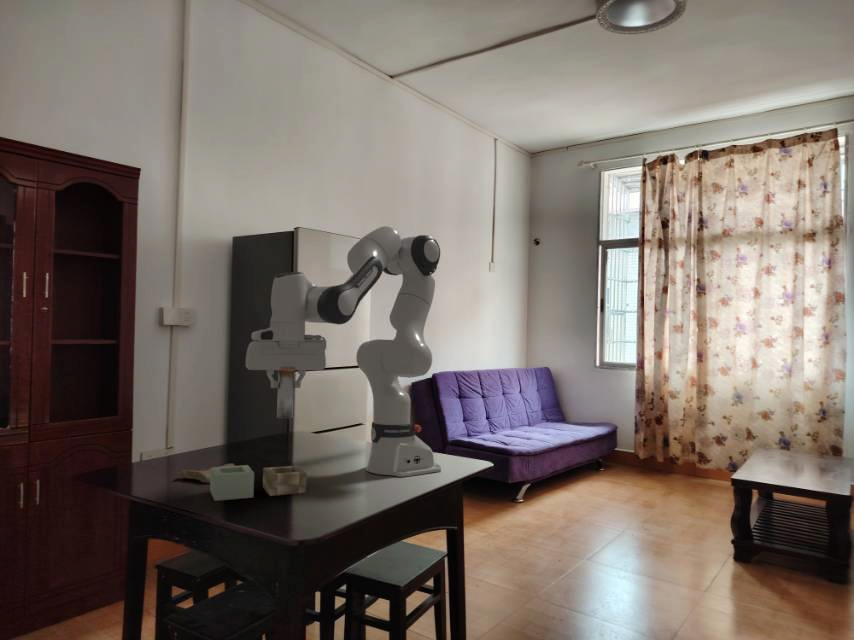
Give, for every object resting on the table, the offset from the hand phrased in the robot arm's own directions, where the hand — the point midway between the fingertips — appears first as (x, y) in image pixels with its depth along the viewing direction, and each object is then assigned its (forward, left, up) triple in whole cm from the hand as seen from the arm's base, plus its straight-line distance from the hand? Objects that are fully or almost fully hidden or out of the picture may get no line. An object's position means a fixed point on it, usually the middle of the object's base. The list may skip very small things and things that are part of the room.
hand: (285, 387), depth 158 cm
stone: (+15, -20, -27) cm, 37 cm away
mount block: (0, 0, -26) cm, 26 cm away
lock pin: (0, 0, -8) cm, 8 cm away
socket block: (+13, 0, -26) cm, 29 cm away
